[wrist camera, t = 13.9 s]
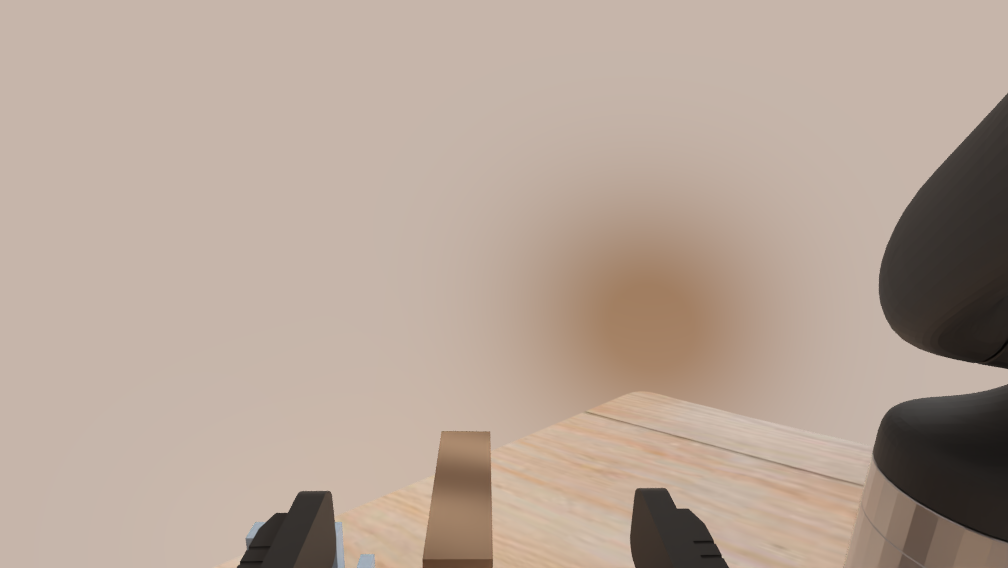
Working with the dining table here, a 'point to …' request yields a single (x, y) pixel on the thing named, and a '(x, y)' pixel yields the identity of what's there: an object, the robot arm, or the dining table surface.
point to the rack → (365, 562)
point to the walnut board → (461, 504)
